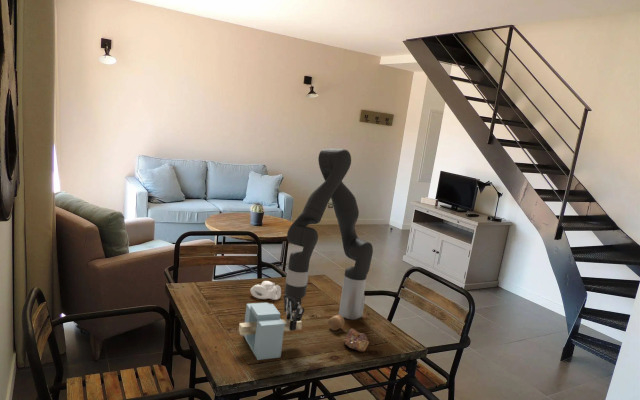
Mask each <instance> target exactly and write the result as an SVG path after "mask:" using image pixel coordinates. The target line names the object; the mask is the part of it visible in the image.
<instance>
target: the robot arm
mask: <svg viewBox="0 0 640 400" xmlns="http://www.w3.org/2000/svg"><path fill="white" fill-rule="evenodd" d="M317 159H318V166H319V167H318V168H319V169H320V172H321V175H322V177H323V180H324V181H323V183H321V185H319V186H318V187H317V188H316V189H314V191H313V192H312V193H311V194H310V195H309V197H308V199H307V201H306V203H305V205H304V207H303V210H302V212H301V213H300V214H299V215H298V216H297V217H296V219H295V220H294V221H293V222H292V224H290V226H289V228H288V230H287V233H286V238H287V241H288V243H290V244H291V245H295V246H298V247H302V250H301V251H299V250H298V251H297V250H295V251H293V252H291V253H290V255H289V260H288V267H287V272H286V276H285V277H286V278H285V285H284V286H285V287H284V294H283V304H284V305H283V307H284V308H283V311H284V312H285V315H286V318H285V319H291V320H290V328H289V329H290V331H291V332H294V331H297V330H296V324H297V321H300V320H301V321H302V318H303V316H304V313H305V308H304V307H302V299H303V298H305V296H306V293H307V289H308V288H307V287H308V282H309V281H308V280H309V269H310V268H309V267H310V260H311V257H312V255H313V252H314V249H315V247H316V245H317V243H318V239H319V234H318V232H317V230H316V229H315V228H314V227H310V226H309V225H318V224H319V223H320V222H321V220H322V218H323V215H324V213H325V211H326V208H327V206H328V204H329V202H330V200H331V203H332V206H333V209H334V214H335V217H336V219H337V224H338V228H339V231H340V235H341V242H342V248H343V252H344V254H345V257H347V258H349V259H350V260H352V261H354V262H355V263H354V265H353V266H348V267H346V268H345V270H344V274H343V275H344V276H343V283H342V289H341V295H340V302H339V308H338V315H341V316H342V317H343V318H344V319H347V320H358V319H360V318H362V317H363V313H364V307H365V302H366V295H365V289H366V282H367V277H368V274H369V272H370V268H371V263H372V257H373V253H374V247H373V244H372V243H371V242H369V241H367V240H364V239H361V238H359V236H358V234H357V233H356V224H357V221H358V219H359V214H360V211H359V207H358V204H357V199H356V197H355V195H354V194H353V192H352V191H351V190H350V189H349V188H348V186H346V184H345V183H344V182H343V180H344V178H345V177H346V176H347V173H348V171H349V170H350V167H351V165H352V156H351V153H350V152H349V150H348V149H345V148H335V147H333V148H323V149H321V151H319V153H318V158H317ZM290 331H289V332H290Z"/></svg>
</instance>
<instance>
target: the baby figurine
mask: <svg viewBox="0 0 640 400" xmlns="http://www.w3.org/2000/svg"><path fill="white" fill-rule="evenodd" d="M275 284H276V283H275V282H272V281H269V280H263V281H262V282H261V283H260V284H259V283H258V284H255V285H253V286H252V287H251V288H250V290H249V291H250V294H251V295H252V296H253V297H254V298H256V299H258V300H267V299H269V300H271V301H277V300H279V299H280V298H281V296H282V289H281V286H280V285H278V284H276V285H275Z"/></svg>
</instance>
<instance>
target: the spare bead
mask: <svg viewBox="0 0 640 400" xmlns="http://www.w3.org/2000/svg"><path fill="white" fill-rule="evenodd" d="M327 324H328V327H329V329H330V330H332V331H337V330H339V329H341V328H343V327H344V325H345V318H344V317H342V316H341V315H339V314H335V315H334V316H332V317H330V318H329V319H328V320H327Z"/></svg>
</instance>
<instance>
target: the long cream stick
mask: <svg viewBox="0 0 640 400" xmlns="http://www.w3.org/2000/svg"><path fill="white" fill-rule="evenodd" d="M281 320H282V321H283V322H284V323H285V326H284V332H290V329H289V328H290V320H291V319H286V318H284V319H281ZM302 326H303V321H302V319H301V320H300V321H297V324H296V330H295V331H301V330H302ZM256 327H257V322H247V323H245V322H239V324H238V333H239V335H240V336H243V335H252V334H256Z"/></svg>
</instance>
